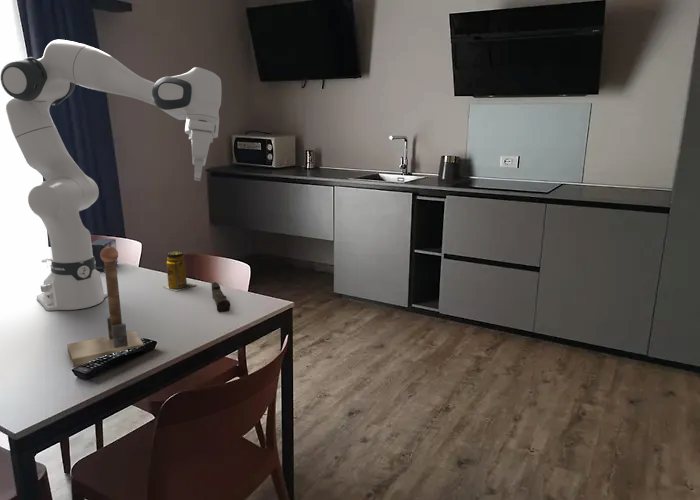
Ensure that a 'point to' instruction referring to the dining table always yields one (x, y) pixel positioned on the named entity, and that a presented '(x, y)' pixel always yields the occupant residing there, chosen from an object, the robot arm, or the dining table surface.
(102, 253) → the lever
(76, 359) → the press base
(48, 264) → the key
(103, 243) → the small box
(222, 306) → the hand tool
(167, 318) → the dining table surface
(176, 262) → the condiment
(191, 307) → the dining table surface
